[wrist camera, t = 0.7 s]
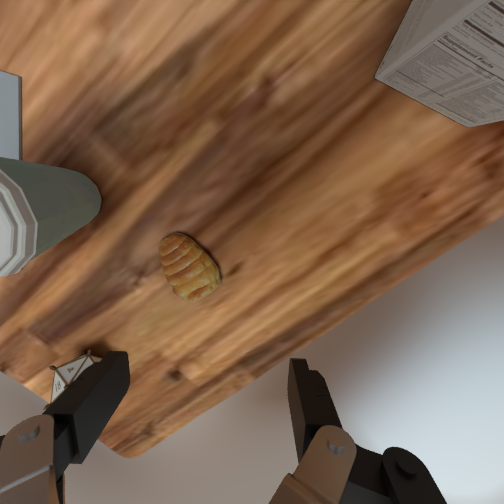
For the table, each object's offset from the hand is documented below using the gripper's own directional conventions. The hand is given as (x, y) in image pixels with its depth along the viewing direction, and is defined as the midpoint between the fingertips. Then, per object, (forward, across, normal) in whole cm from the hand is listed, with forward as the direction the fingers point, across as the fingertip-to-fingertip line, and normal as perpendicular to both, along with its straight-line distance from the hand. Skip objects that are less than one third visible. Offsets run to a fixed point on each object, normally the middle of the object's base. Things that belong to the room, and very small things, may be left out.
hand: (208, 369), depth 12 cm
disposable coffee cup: (+22, +21, -7) cm, 31 cm away
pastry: (+23, +6, +2) cm, 24 cm away
